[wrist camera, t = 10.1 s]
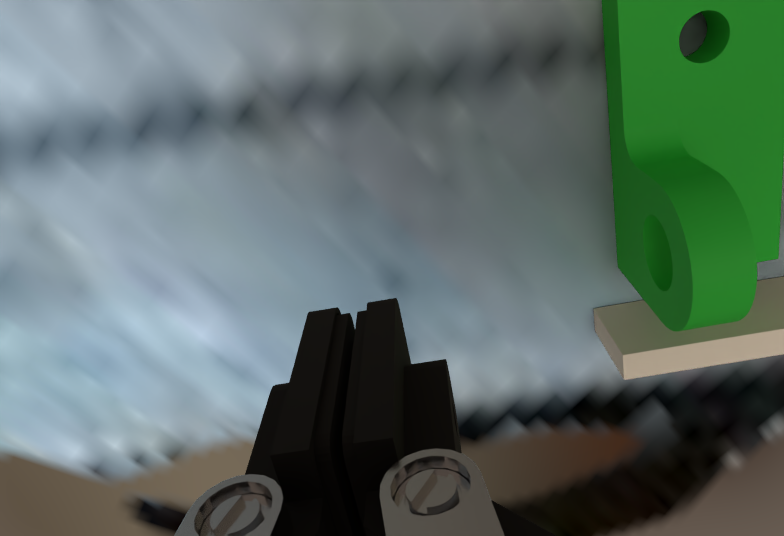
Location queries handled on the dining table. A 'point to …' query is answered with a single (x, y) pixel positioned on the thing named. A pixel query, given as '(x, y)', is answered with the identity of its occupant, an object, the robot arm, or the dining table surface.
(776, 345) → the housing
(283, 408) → the robot arm
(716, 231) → the mechanical part
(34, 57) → the dining table surface
